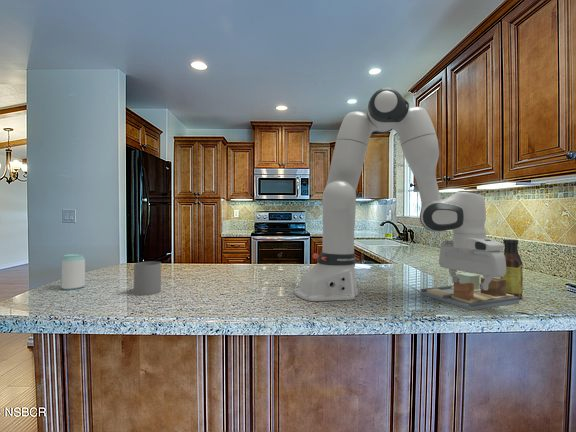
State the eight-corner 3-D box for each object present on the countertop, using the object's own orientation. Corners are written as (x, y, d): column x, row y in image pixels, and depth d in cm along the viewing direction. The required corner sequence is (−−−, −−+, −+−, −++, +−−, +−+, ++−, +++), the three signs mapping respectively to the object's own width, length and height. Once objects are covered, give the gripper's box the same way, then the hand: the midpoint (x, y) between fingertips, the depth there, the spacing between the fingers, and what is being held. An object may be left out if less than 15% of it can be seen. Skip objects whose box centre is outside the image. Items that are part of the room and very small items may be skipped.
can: (82, 284, 113) (82, 252, 113) (87, 288, 108) (87, 254, 108) (59, 287, 108) (59, 254, 108) (63, 291, 103) (63, 256, 103)
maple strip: (471, 304, 90) (471, 286, 90) (450, 298, 97) (451, 281, 97) (514, 297, 98) (514, 281, 98) (492, 292, 105) (492, 277, 105)
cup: (128, 293, 102) (128, 264, 102) (147, 288, 109) (148, 260, 109) (147, 296, 99) (147, 266, 98) (165, 290, 106) (166, 262, 106)
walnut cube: (495, 296, 96) (496, 281, 96) (480, 292, 101) (480, 278, 101) (505, 295, 98) (506, 280, 98) (490, 291, 103) (490, 276, 103)
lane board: (471, 310, 88) (471, 304, 88) (420, 294, 106) (420, 288, 106) (519, 302, 97) (519, 297, 97) (464, 288, 114) (464, 284, 114)
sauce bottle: (526, 300, 100) (527, 240, 100) (505, 298, 101) (506, 239, 101) (515, 294, 106) (516, 238, 106) (496, 293, 108) (497, 238, 107)
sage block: (469, 290, 105) (469, 276, 105) (456, 287, 109) (456, 273, 109) (479, 289, 106) (479, 275, 106) (466, 286, 111) (466, 272, 111)
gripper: (434, 240, 103) (434, 280, 103) (495, 246, 84) (495, 295, 84) (447, 239, 106) (447, 278, 106) (509, 245, 87) (509, 292, 87)
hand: (469, 286), depth 95 cm, fingers open, 8 cm apart
